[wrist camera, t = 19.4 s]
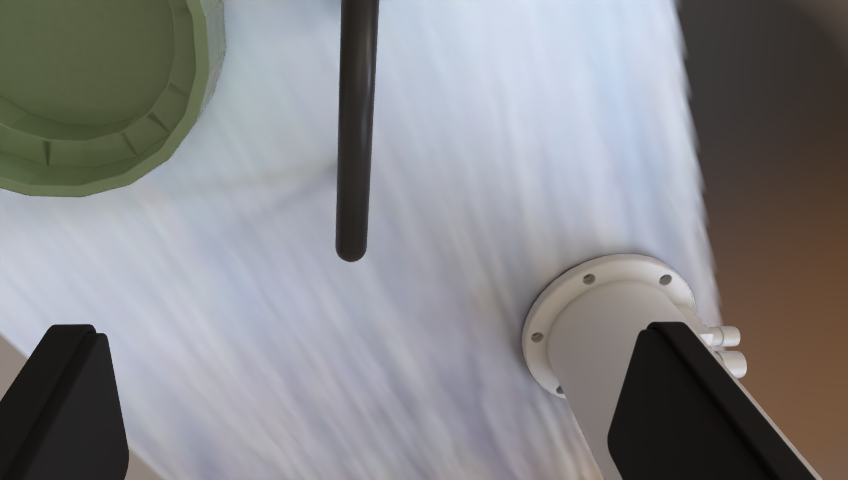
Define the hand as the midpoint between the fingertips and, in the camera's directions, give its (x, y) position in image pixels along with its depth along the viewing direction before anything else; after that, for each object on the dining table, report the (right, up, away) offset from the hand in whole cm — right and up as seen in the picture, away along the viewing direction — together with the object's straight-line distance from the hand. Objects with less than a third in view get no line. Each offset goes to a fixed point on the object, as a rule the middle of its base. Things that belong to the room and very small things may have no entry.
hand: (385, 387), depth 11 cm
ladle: (-3, +13, +22) cm, 26 cm away
